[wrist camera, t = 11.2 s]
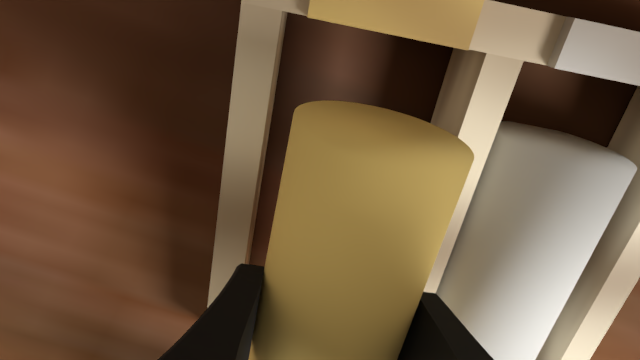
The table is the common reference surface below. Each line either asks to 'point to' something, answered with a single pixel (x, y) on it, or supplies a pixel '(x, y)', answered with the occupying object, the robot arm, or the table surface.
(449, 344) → the robot arm
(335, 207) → the pale yellow cylinder
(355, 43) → the table surface
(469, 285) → the tall white tube
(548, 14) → the rack
